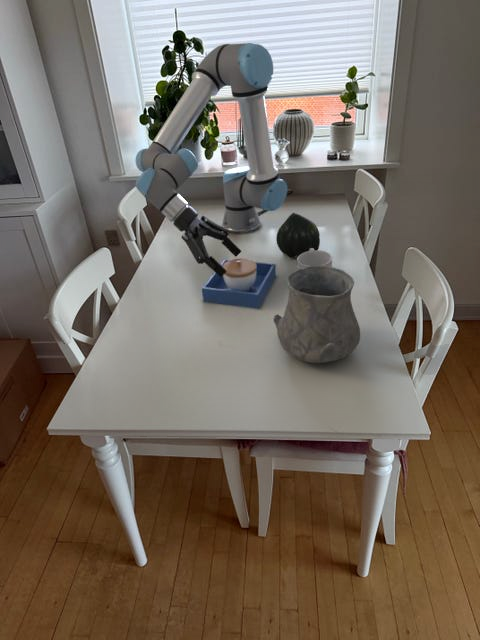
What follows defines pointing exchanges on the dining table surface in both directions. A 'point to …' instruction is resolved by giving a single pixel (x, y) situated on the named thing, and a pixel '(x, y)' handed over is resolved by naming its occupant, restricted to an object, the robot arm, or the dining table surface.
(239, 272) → the trinket box
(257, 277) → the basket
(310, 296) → the vessel
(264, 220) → the dining table surface
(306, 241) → the squash
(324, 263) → the teacup
